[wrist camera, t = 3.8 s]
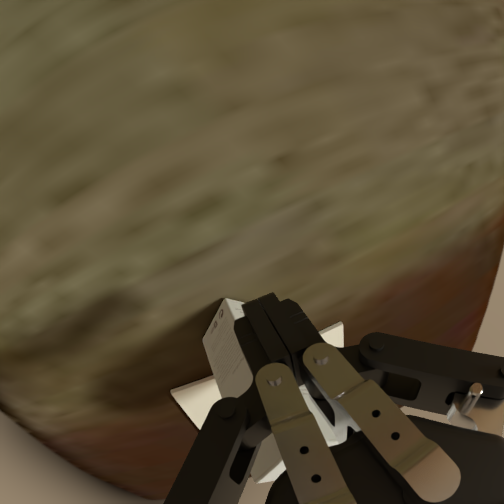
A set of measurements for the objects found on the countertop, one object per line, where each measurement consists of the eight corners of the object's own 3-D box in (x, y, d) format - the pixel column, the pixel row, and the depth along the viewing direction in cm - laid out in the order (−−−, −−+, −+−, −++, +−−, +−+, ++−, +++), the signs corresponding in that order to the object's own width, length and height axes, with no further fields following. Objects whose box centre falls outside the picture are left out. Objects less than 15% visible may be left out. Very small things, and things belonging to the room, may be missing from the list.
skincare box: (199, 340, 23) (250, 485, 13) (223, 295, 22) (294, 446, 12) (266, 350, 26) (331, 471, 16) (292, 311, 25) (375, 433, 15)
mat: (170, 389, 25) (170, 393, 25) (340, 321, 27) (343, 324, 27) (212, 443, 31) (213, 446, 31) (341, 389, 34) (343, 392, 34)
